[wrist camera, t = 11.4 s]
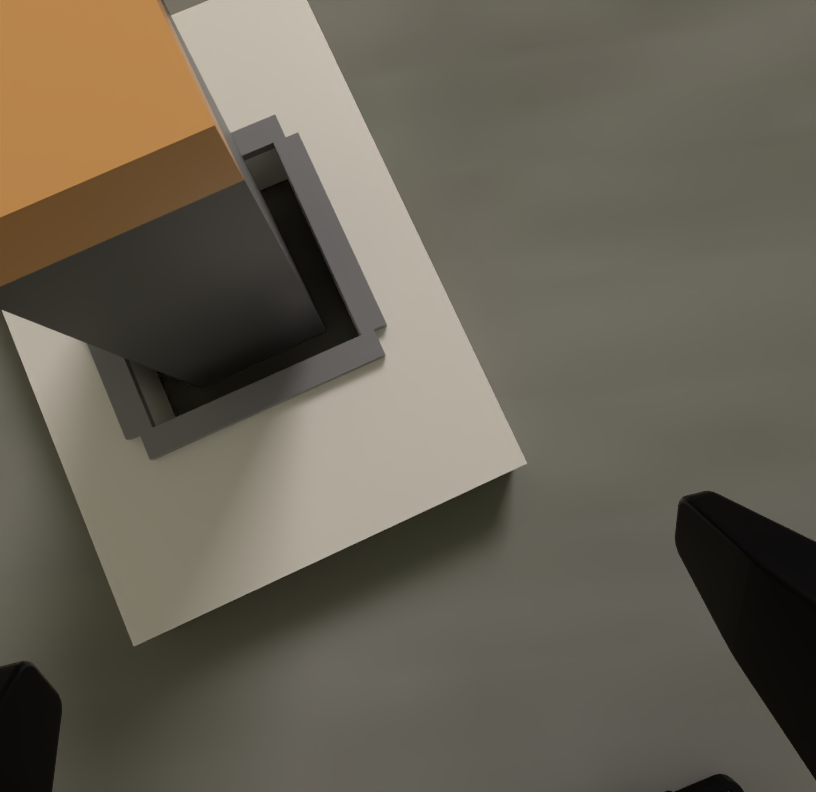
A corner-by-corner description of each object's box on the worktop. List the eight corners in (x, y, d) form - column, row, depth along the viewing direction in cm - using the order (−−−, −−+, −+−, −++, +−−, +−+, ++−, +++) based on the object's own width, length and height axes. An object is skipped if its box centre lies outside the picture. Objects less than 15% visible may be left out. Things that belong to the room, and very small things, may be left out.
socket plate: (514, 463, 19) (529, 463, 17) (162, 627, 19) (128, 649, 16) (301, 14, 21) (289, -41, 19) (-29, 148, 20) (-84, 108, 18)
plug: (326, 331, 20) (215, 125, 8) (201, 388, 19) (-112, 265, 8) (271, 214, 20) (86, -152, 8) (148, 268, 20) (-227, -28, 8)
